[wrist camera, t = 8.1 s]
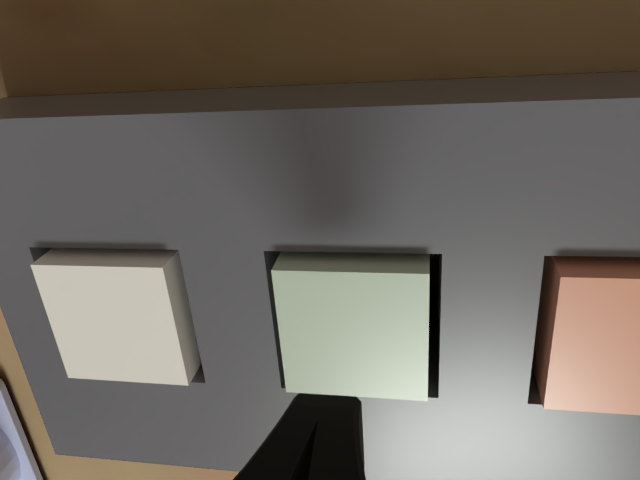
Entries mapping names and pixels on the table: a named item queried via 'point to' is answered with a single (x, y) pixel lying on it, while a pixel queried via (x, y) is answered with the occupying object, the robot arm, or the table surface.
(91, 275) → the off-white button
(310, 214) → the button panel
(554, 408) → the terracotta button
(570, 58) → the table surface
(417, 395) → the sage button
